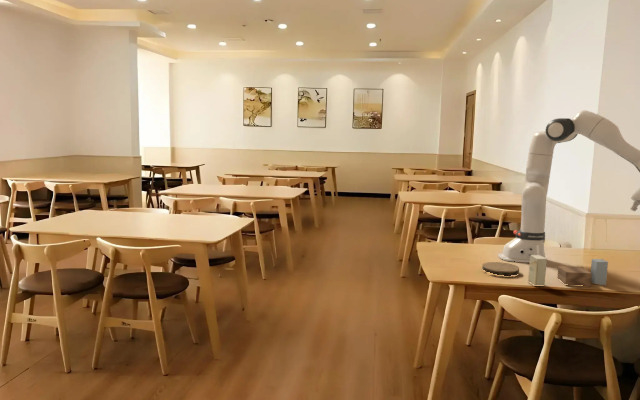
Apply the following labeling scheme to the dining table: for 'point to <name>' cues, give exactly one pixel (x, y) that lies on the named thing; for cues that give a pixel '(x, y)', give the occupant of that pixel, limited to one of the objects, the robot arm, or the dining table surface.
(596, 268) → the slate block
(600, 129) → the robot arm
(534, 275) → the skincare box
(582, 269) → the walnut block
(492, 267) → the grey brown disc
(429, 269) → the dining table surface
